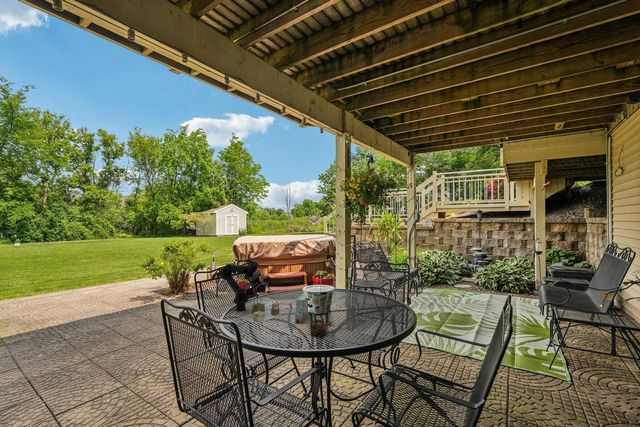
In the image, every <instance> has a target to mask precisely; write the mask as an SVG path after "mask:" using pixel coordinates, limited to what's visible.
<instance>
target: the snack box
mask: <svg viewBox="0 0 640 427" xmlns="http://www.w3.org/2000/svg"><path fill="white" fill-rule="evenodd" d="M309 315H310V314H309V312H308V298H307V296H306V295H304V292H303V293H301V294H300V296H299V297H297V298H296V300H295V318H294V319H295V320H294V323H295V324H303V323H304V322H305V321H306V320H307V318H309Z"/></svg>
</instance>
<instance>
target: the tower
mask: <svg viewBox="0 0 640 427" xmlns="http://www.w3.org/2000/svg"><path fill="white" fill-rule="evenodd" d="M270 311H271V315H274V316H276V315H279V314H280V302H272V303H271V309H270ZM279 316H280V315H279ZM276 317H277V316H276Z"/></svg>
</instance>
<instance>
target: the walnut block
mask: <svg viewBox="0 0 640 427" xmlns="http://www.w3.org/2000/svg"><path fill="white" fill-rule="evenodd" d="M251 309H252V310H251V313H252V314H253V313H255V312H258V311H261V312H265V310H266V304H265V303H260V302H257V303H254V304H252V305H251Z"/></svg>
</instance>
